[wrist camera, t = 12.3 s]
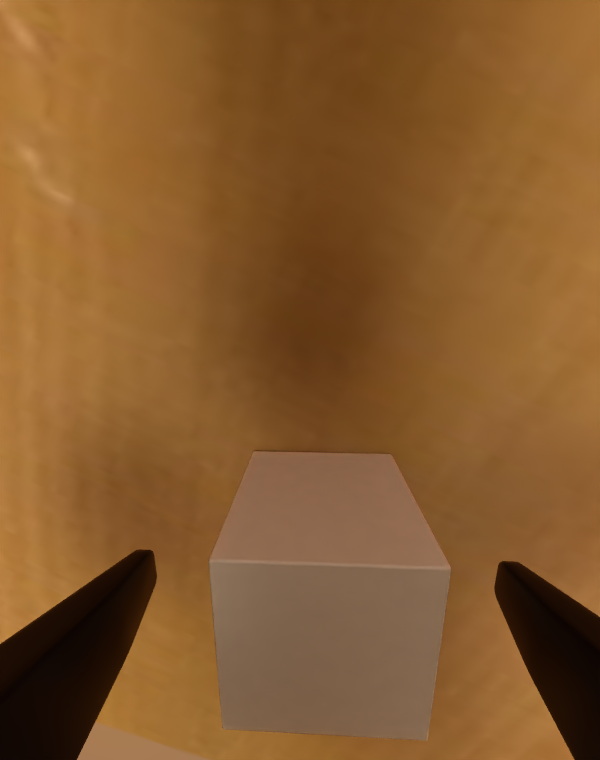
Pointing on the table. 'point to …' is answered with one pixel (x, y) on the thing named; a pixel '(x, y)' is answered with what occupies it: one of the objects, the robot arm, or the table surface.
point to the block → (327, 599)
